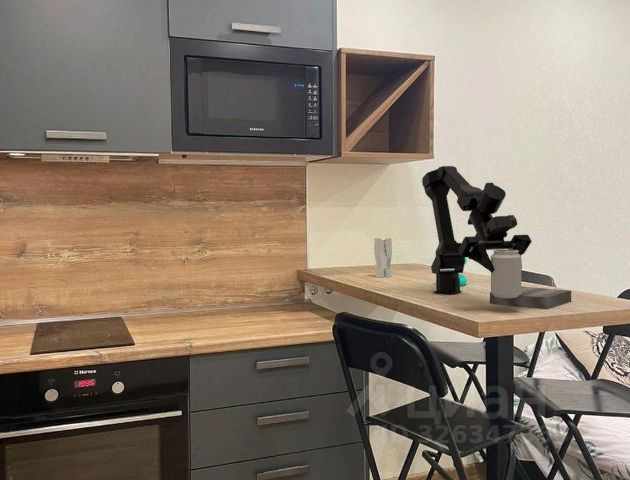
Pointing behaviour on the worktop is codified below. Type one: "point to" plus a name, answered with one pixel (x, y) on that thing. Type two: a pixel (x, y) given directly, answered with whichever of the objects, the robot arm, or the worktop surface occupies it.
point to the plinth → (535, 298)
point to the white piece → (383, 256)
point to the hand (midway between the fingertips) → (506, 270)
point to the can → (506, 274)
